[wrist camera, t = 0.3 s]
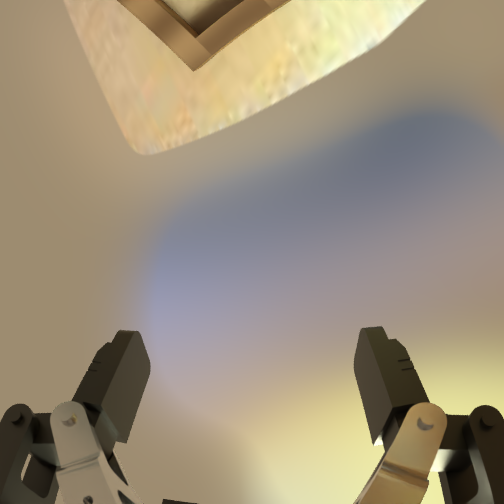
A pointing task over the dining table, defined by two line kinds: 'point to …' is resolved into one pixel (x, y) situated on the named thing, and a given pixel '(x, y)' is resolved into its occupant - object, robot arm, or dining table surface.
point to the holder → (212, 39)
